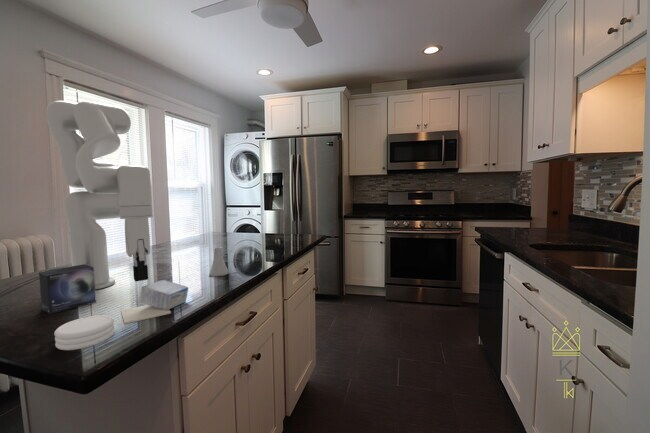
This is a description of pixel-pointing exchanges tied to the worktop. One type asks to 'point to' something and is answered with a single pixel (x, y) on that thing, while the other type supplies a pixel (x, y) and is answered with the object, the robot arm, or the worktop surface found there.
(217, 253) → the flask
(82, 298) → the small box
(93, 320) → the coaster
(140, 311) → the mat
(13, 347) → the worktop surface
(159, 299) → the medicine box
